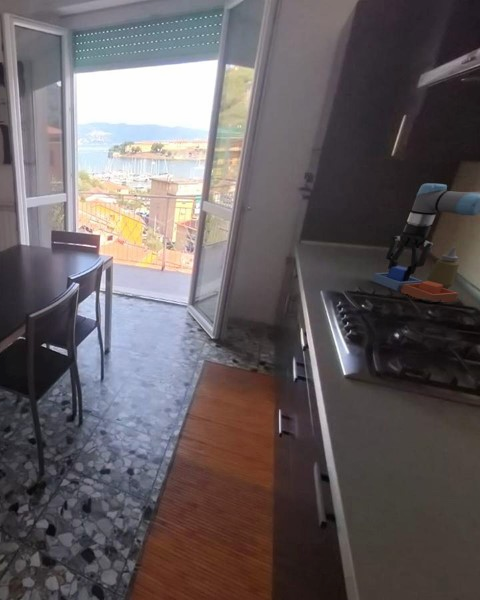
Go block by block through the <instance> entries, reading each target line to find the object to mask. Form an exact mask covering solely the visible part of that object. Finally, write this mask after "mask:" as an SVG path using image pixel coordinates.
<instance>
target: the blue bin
mask: <svg viewBox="0 0 480 600" xmlns="http://www.w3.org/2000/svg"><path fill="white" fill-rule="evenodd" d="M388 273H389V272H374V273H373V277H372V280H371V282H374V283H376V284H378V285H381V286H383V287H386V288H388V289H391V290H394V291H396V292H397V291H398V292H399V291H401V290H402V287H403V285H404V284H413V283H421V282H424V280H421V279H419V278H416V277H413V276H410V277H409V280H408V281H405V282H404V281H402V282H399V281H396V280H393V279H390V278H387V276H388Z"/></svg>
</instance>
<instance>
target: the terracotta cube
mask: <svg viewBox="0 0 480 600" xmlns="http://www.w3.org/2000/svg"><path fill="white" fill-rule="evenodd" d="M442 287H443V285H442V284H439V283H435V282H431V281H427V280H425V281H424V280H423V282H421V283H420V285H419V288H418V289H420V290H423V291H426V292H428V293H431V294H439V293H440V291H441V289H442Z"/></svg>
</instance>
